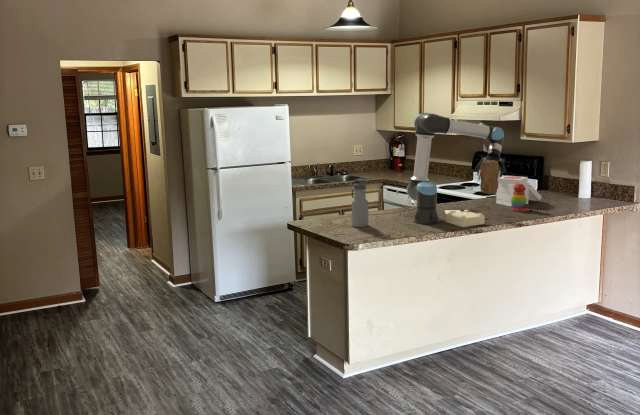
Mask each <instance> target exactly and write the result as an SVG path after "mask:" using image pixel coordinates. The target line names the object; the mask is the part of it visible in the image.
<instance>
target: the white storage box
mask: <svg viewBox="0 0 640 415" xmlns="http://www.w3.org/2000/svg"><path fill="white" fill-rule="evenodd" d="M528 180H529V177H528V176H517V175H516V176H515V175H503V176H502V177H500V181H499V182H498V189H497V192H496V197H495V201H496V202H495V203H496V204H498V205H503V206H508V207H511V206H512V205H511V198H512V194H513V193H514V192H515V190H514V186H515V185H516V183H521V184H523V185H524V186H525V188H526V189H525V191H524V193H525V196H526V204H527V205H529V200H530V199H531V200H534V201H541V199H542V195H541V194H540V193H539V192H538V191H537V189H536V188H535V187H533V186H532V185H531V184H530V182H528Z"/></svg>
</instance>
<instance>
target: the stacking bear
mask: <svg viewBox="0 0 640 415" xmlns="http://www.w3.org/2000/svg"><path fill="white" fill-rule="evenodd" d="M525 189H526V188H525V186H524V185H523V184H521V183H516V185H515V186H514V190H515V192H514V193H513V194H512V198H511V205H512V207H511V208H510V210H511V211H512V212H517V211H521V212H522V213H526V212H527V211H528V212H529V209H528V208H526V205H525V204H526V196H525V193H524V191H525Z"/></svg>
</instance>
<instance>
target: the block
mask: <svg viewBox="0 0 640 415" xmlns="http://www.w3.org/2000/svg"><path fill="white" fill-rule="evenodd" d="M498 163H499V162H498V161H495V160H485V161H483V163H482V165H481V171H480V191H481V193H484V194H488V195H491V194H492V195H494V194H497V189H498V180H497V179H498V174H499V171H500V170H499V165H500V164H499V165H498Z"/></svg>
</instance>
